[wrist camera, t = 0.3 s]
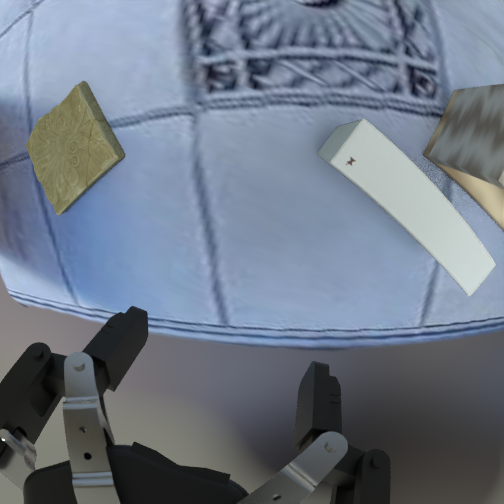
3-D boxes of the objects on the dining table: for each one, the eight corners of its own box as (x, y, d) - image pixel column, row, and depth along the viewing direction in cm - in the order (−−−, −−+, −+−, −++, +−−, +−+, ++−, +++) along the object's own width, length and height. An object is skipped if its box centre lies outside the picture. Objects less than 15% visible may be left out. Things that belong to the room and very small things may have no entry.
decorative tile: (128, 156, 40) (115, 159, 36) (66, 212, 46) (54, 218, 43) (87, 73, 34) (74, 72, 31) (33, 140, 41) (21, 143, 38)
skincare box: (442, 217, 35) (498, 266, 20) (420, 243, 37) (466, 302, 23) (338, 121, 32) (364, 116, 18) (314, 152, 35) (324, 168, 21)
